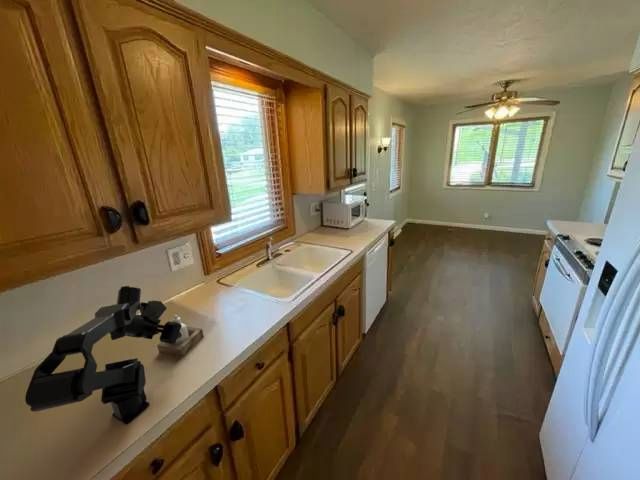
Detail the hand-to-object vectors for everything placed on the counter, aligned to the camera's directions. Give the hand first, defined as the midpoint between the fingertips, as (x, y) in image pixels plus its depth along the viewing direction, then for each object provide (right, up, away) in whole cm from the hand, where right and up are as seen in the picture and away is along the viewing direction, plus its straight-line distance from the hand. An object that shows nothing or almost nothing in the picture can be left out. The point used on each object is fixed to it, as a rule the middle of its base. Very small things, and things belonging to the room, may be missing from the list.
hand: (169, 333), depth 94 cm
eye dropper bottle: (+1, -6, +6) cm, 9 cm away
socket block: (+1, -6, +6) cm, 9 cm away
